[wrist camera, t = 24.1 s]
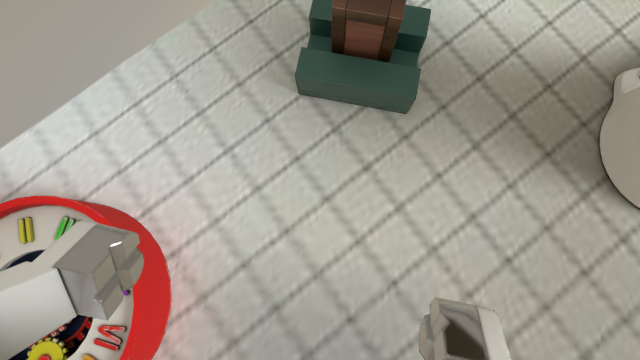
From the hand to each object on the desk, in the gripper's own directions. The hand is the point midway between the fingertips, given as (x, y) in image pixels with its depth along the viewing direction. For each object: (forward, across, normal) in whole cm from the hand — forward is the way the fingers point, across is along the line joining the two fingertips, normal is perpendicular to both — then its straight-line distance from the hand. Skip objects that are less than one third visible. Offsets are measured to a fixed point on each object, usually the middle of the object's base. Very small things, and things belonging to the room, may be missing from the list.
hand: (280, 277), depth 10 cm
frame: (+34, 0, +3) cm, 34 cm away
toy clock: (+13, +23, +26) cm, 37 cm away
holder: (+35, 0, +4) cm, 35 cm away
